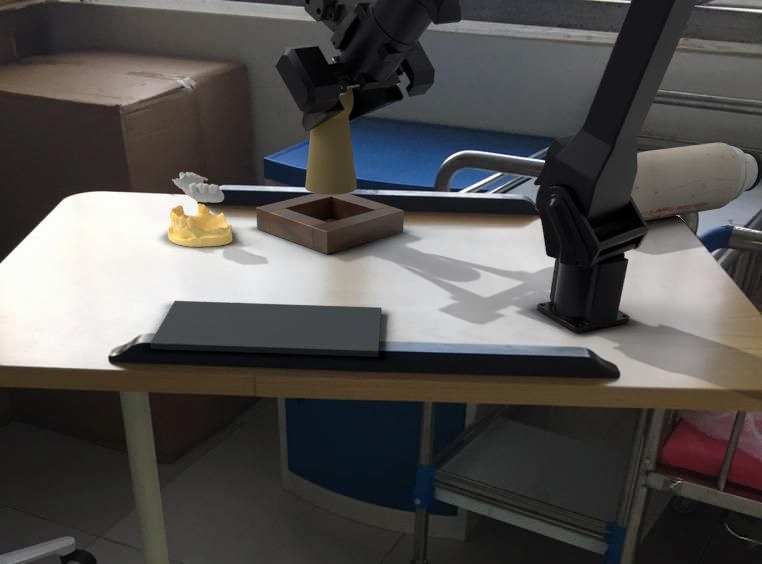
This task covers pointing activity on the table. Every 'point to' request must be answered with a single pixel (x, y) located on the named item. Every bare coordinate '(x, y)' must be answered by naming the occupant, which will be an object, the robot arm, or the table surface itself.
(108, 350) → the table surface
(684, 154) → the thermos bottle
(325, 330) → the slate mat
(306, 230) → the square wooden frame
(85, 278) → the table surface
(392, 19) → the robot arm
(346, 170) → the cork
